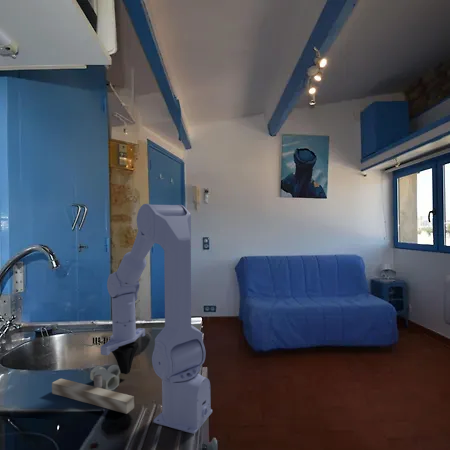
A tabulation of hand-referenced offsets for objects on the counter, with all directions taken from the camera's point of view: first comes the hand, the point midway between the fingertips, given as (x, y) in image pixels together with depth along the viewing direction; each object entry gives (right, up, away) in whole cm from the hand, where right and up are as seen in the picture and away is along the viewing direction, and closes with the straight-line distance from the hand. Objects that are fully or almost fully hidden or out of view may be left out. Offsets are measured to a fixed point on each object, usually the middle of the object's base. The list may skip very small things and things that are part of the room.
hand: (125, 372), depth 85 cm
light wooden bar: (-4, -2, -10) cm, 10 cm away
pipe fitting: (-3, -2, -2) cm, 4 cm away
